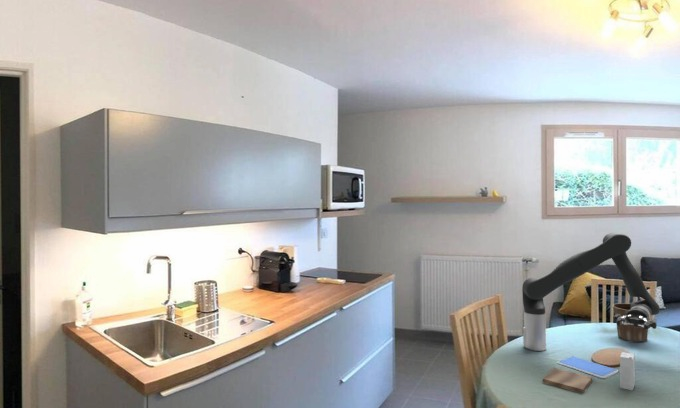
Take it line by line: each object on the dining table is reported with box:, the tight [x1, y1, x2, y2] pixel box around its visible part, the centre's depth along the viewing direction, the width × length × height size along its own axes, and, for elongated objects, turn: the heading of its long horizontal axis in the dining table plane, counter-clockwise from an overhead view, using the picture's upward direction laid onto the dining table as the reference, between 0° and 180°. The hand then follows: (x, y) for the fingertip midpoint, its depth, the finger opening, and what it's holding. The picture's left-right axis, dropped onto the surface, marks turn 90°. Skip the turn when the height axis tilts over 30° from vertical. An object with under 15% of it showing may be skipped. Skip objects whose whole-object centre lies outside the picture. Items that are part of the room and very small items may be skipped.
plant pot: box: [612, 302, 649, 343], centre depth 206 cm, size 16×16×16 cm
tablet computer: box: [556, 355, 619, 380], centre depth 173 cm, size 19×13×1 cm, turn 30°
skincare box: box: [619, 351, 636, 391], centre depth 155 cm, size 6×4×12 cm
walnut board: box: [542, 367, 593, 394], centre depth 160 cm, size 14×14×2 cm
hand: (631, 325), depth 162 cm, fingers open, 8 cm apart
